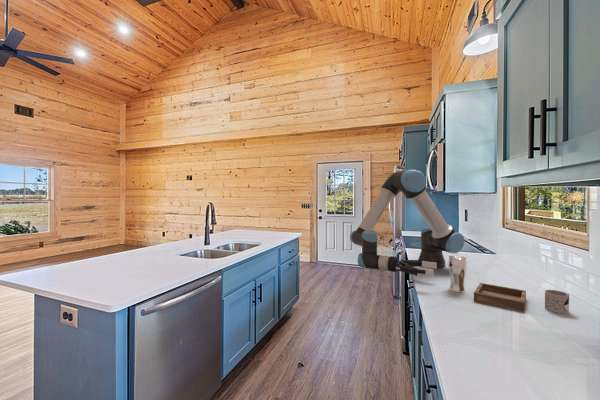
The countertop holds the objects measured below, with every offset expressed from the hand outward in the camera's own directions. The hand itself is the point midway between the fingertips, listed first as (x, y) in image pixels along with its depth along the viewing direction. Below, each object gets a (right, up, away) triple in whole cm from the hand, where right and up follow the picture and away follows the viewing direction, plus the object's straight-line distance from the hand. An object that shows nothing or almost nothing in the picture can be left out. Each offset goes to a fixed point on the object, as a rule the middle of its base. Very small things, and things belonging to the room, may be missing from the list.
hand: (435, 269), depth 131 cm
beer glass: (+8, -9, -4) cm, 12 cm away
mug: (+34, -9, -25) cm, 43 cm away
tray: (+19, -9, -16) cm, 26 cm away
